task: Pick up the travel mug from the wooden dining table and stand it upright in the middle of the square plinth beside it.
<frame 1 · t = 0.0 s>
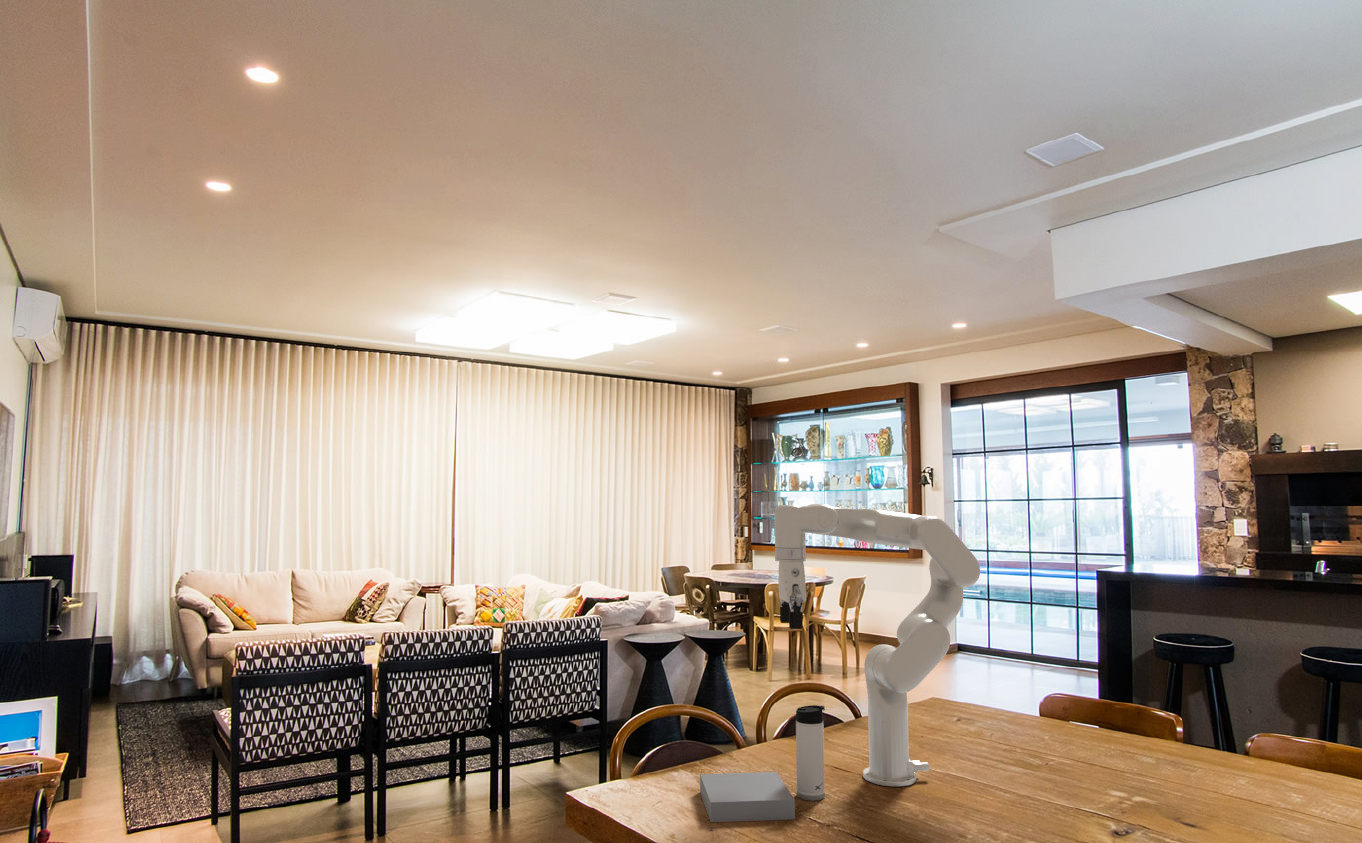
hand: (791, 625, 198), 37 cm above the table, tool pointing down, fingers open, 9 cm apart
plinth: (745, 804, 179), on the table
travel mug: (811, 796, 185), on the table
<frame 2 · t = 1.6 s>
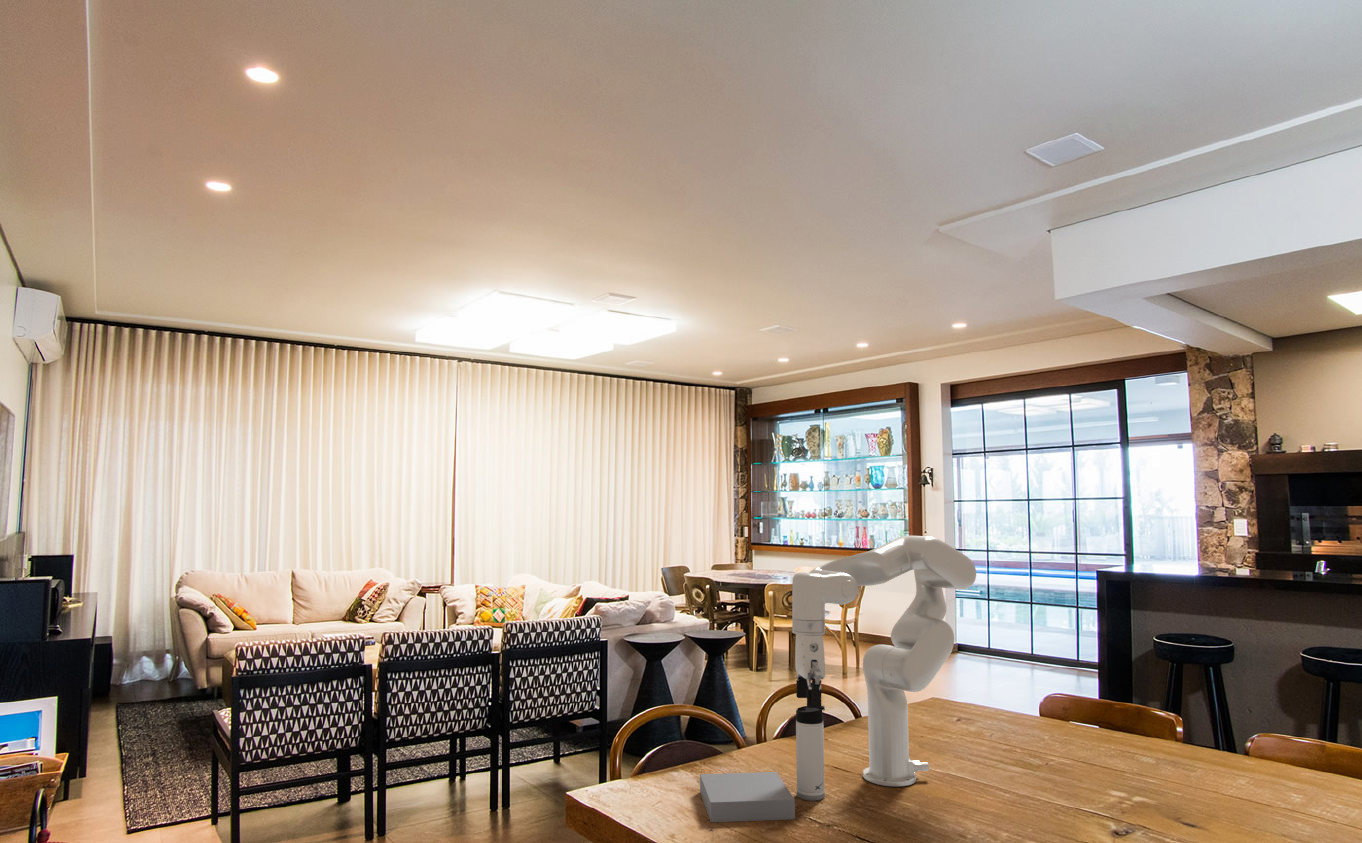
hand: (808, 702, 187), 21 cm above the table, tool pointing down, fingers open, 9 cm apart
nothing on the table moved.
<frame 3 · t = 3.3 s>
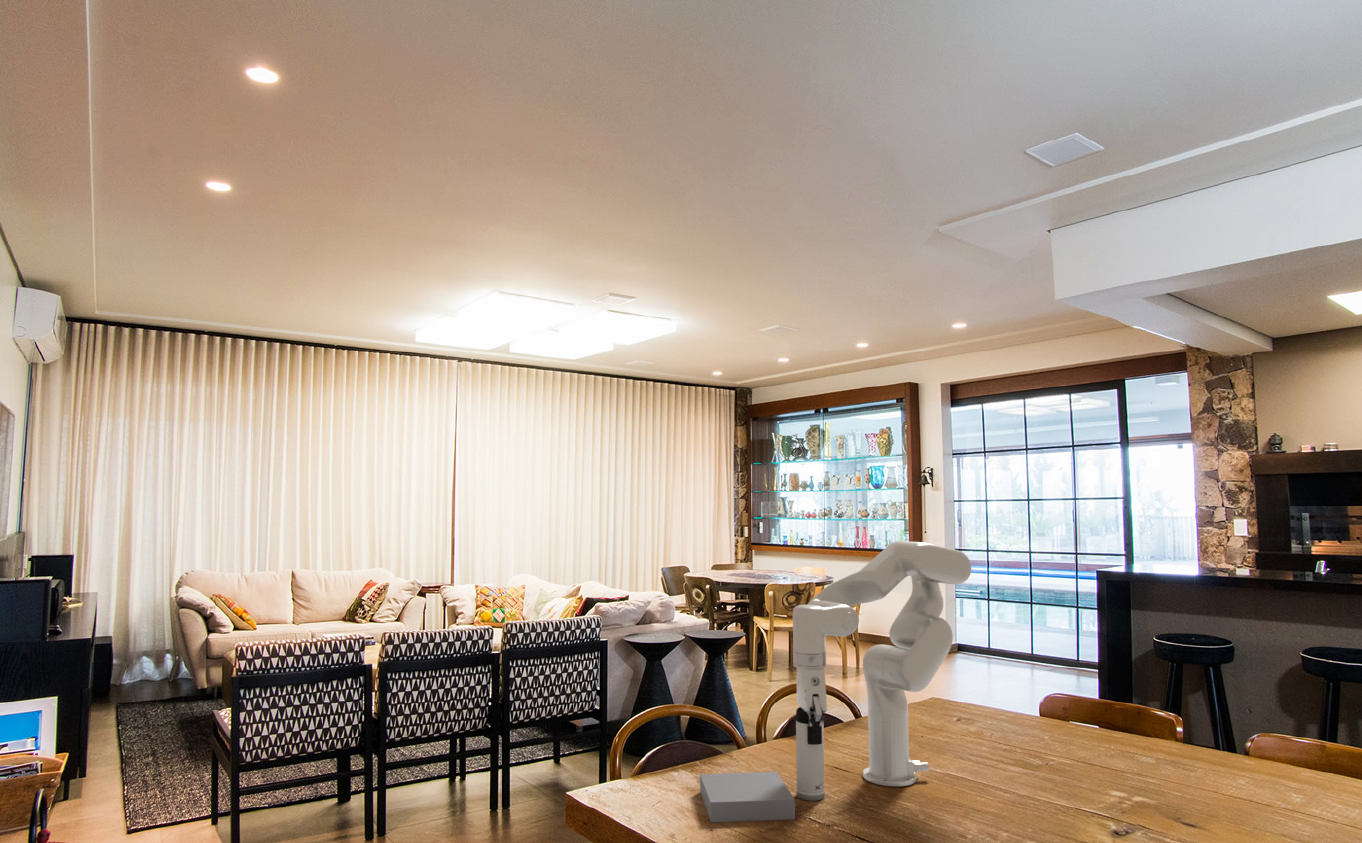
hand: (810, 738, 186), 13 cm above the table, tool pointing down, fingers closed on travel mug, 6 cm apart
travel mug: (811, 796, 185), on the table, touching gripper
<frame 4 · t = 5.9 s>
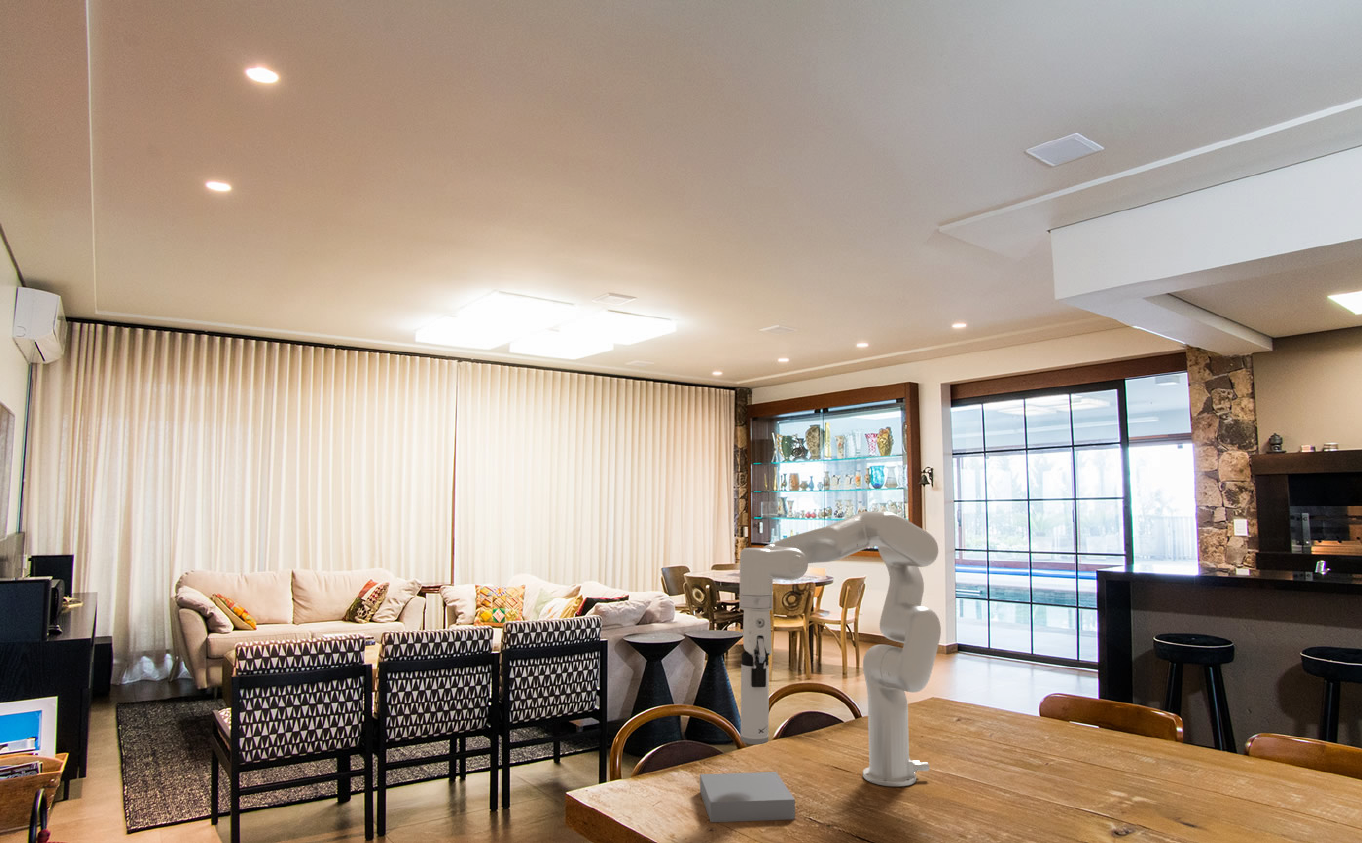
hand: (755, 682, 183), 26 cm above the table, tool pointing down, fingers closed on travel mug, 6 cm apart
travel mug: (755, 741, 181), point 13 cm above the table, touching gripper
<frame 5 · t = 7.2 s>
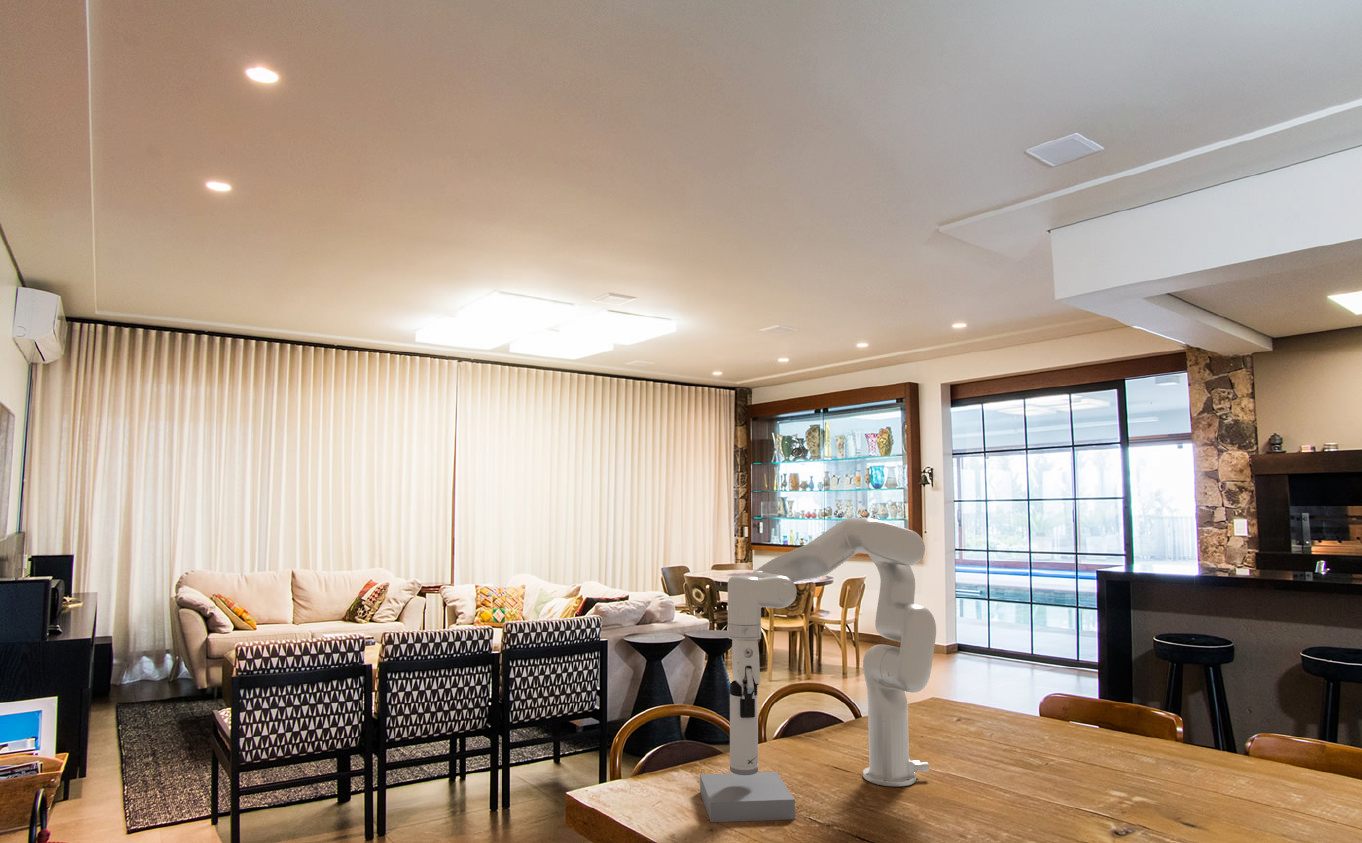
hand: (744, 712, 181), 20 cm above the table, tool pointing down, fingers closed on travel mug, 6 cm apart
travel mug: (744, 771, 180), point 7 cm above the table, touching gripper
when the fingers open (17 cm above the table, at t = 8.5 s): travel mug stays where it is, resting on plinth.
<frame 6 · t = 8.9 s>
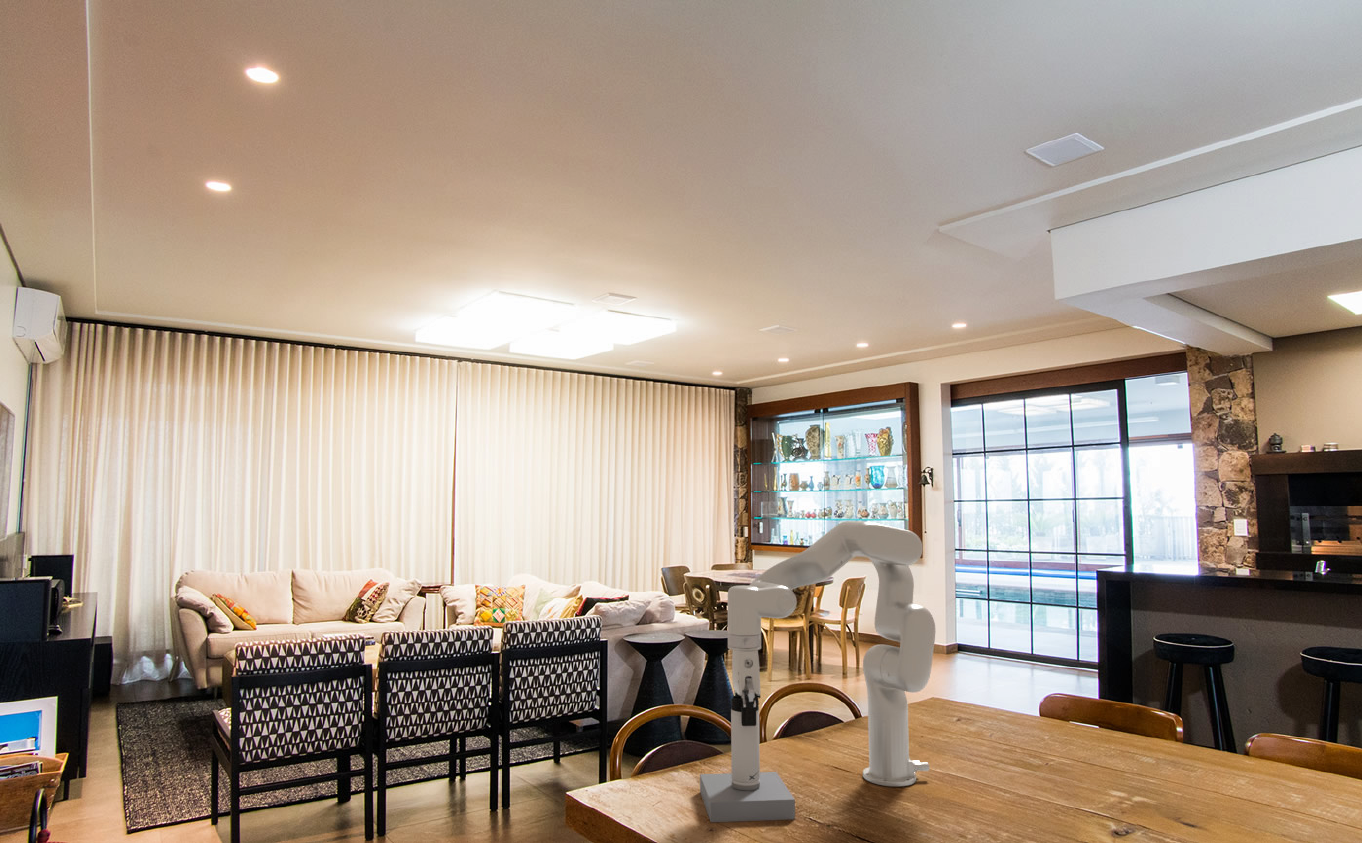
hand: (744, 719, 181), 18 cm above the table, tool pointing down, fingers open, 9 cm apart
travel mug: (746, 787, 180), point 4 cm above the table, touching plinth
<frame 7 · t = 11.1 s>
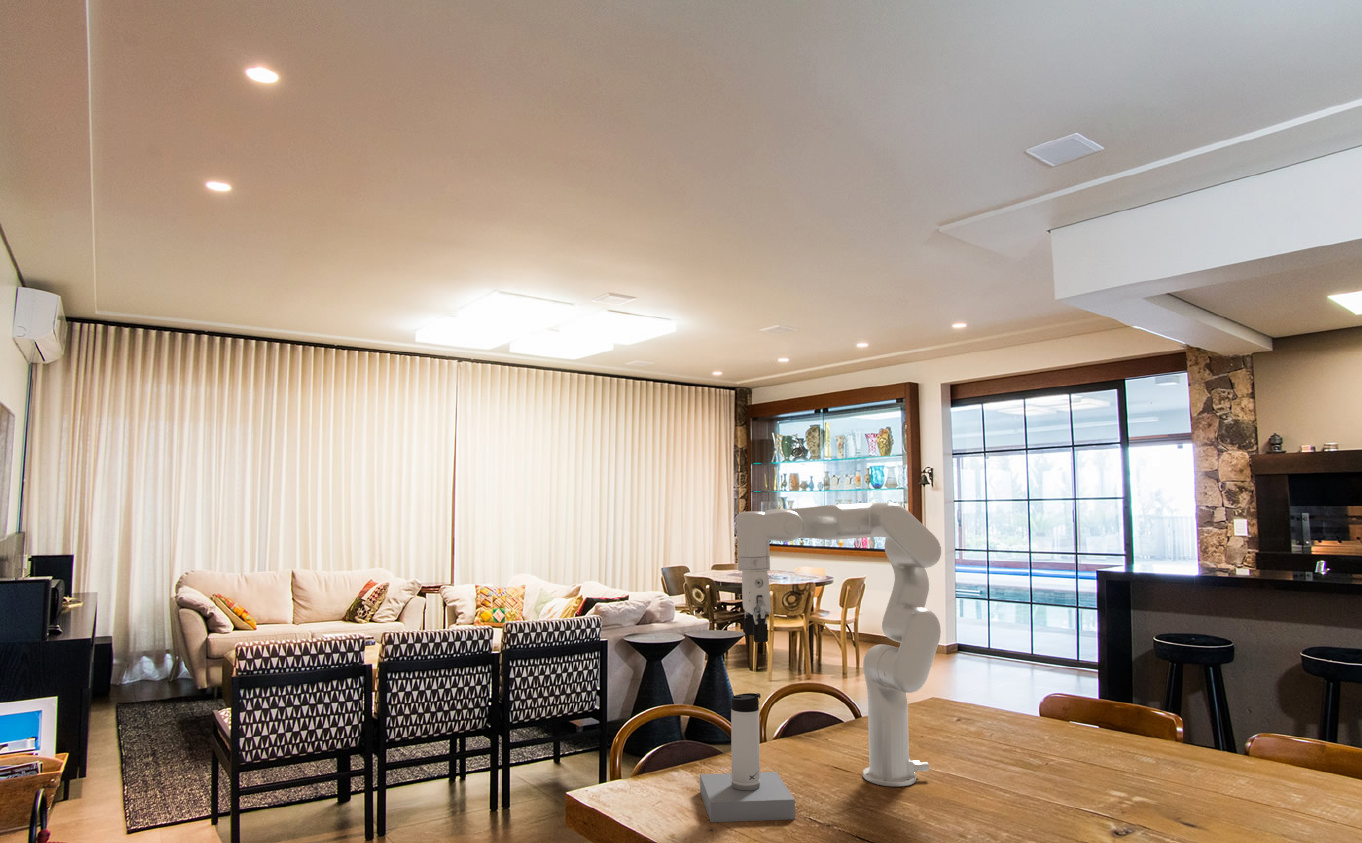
hand: (756, 638, 189), 35 cm above the table, tool pointing down, fingers open, 9 cm apart
nothing on the table moved.
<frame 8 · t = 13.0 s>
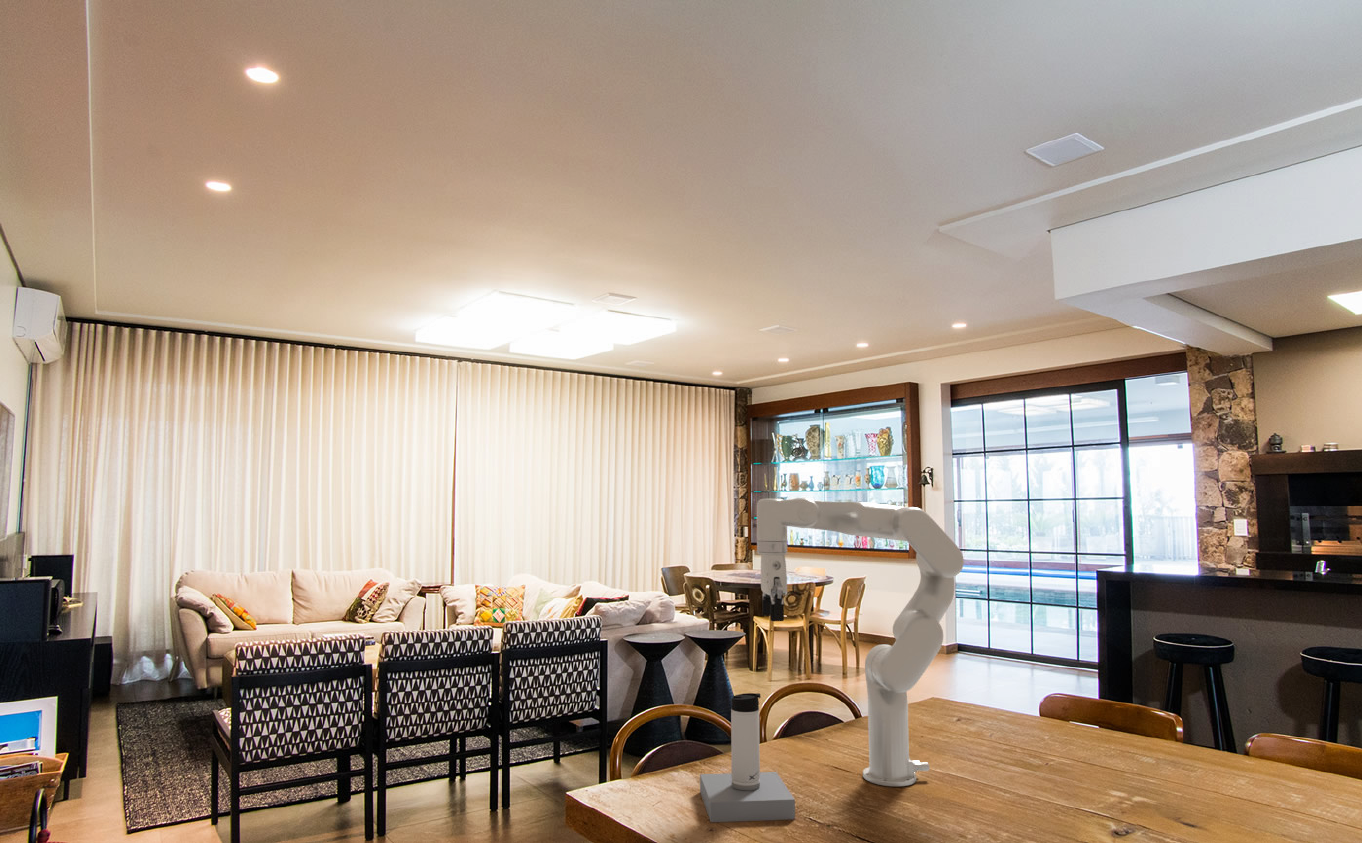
hand: (772, 618, 200), 38 cm above the table, tool pointing down, fingers open, 9 cm apart
nothing on the table moved.
at the end: travel mug inside the target area on the plinth (0.2 cm from its centre), point 3.8 cm above the plinth's base; travel mug tilted 0°; the gripper is holding nothing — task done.
